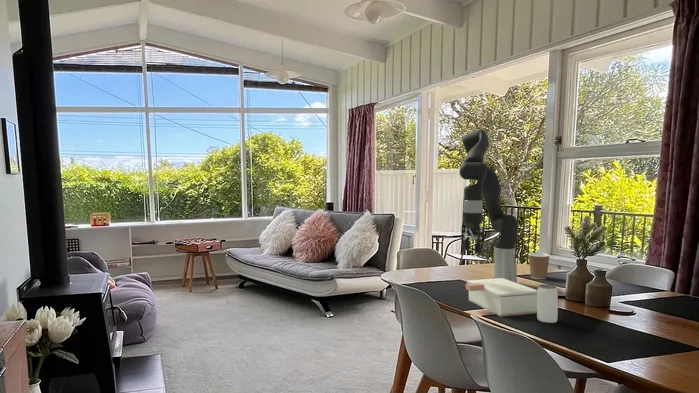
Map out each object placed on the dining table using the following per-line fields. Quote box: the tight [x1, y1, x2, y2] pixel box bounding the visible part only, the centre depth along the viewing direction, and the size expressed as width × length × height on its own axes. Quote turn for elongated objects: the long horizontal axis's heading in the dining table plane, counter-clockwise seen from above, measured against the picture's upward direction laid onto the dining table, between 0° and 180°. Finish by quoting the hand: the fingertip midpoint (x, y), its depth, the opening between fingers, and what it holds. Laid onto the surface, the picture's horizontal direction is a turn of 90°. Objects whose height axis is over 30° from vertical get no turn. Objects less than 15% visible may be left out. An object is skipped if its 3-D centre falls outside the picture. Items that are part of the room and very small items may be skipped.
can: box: [536, 284, 559, 324], centre depth 146 cm, size 6×6×12 cm
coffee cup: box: [527, 252, 551, 280], centre depth 213 cm, size 10×10×12 cm
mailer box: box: [468, 290, 537, 318], centre depth 163 cm, size 16×22×7 cm
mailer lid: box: [465, 278, 537, 296], centre depth 162 cm, size 23×22×2 cm
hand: (472, 251), depth 170 cm, fingers open, 8 cm apart
